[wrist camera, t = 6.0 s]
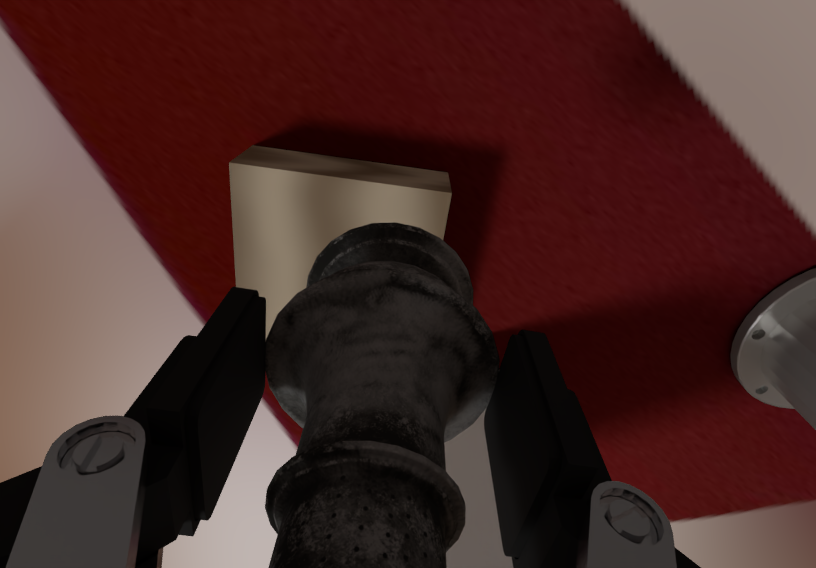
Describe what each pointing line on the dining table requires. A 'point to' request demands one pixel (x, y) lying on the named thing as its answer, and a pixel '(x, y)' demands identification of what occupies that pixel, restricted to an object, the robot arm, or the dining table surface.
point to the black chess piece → (376, 401)
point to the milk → (475, 502)
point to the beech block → (317, 212)
